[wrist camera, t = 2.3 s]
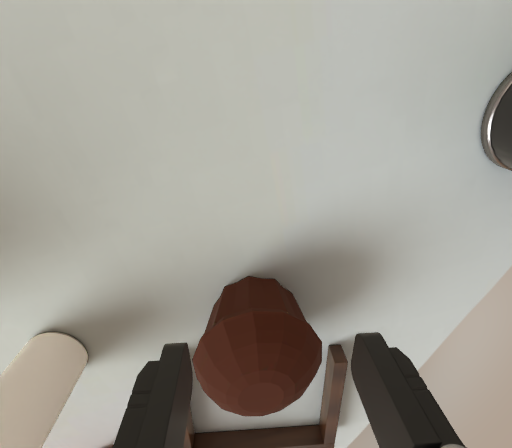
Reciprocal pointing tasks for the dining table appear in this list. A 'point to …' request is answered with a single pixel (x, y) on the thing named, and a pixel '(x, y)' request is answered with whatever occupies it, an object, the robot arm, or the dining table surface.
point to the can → (38, 388)
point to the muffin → (256, 349)
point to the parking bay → (286, 438)
